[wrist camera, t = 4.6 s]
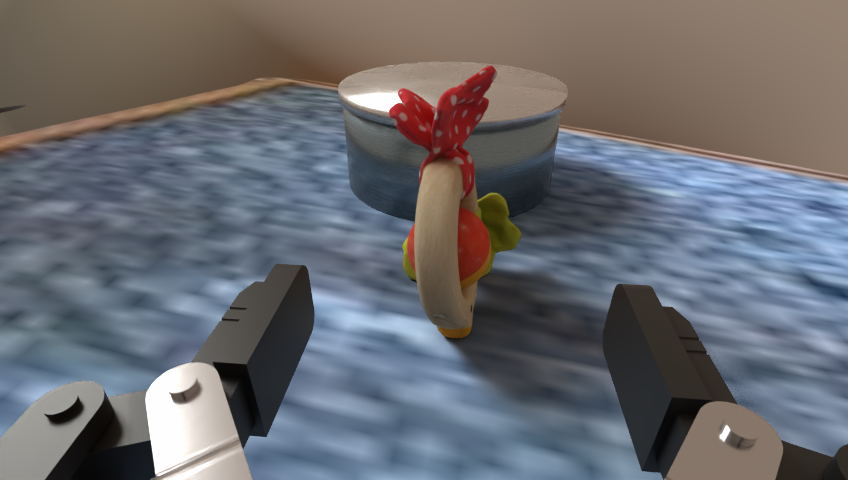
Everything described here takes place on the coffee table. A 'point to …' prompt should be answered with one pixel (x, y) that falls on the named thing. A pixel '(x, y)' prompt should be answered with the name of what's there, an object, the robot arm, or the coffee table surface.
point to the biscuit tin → (487, 144)
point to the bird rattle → (451, 205)
